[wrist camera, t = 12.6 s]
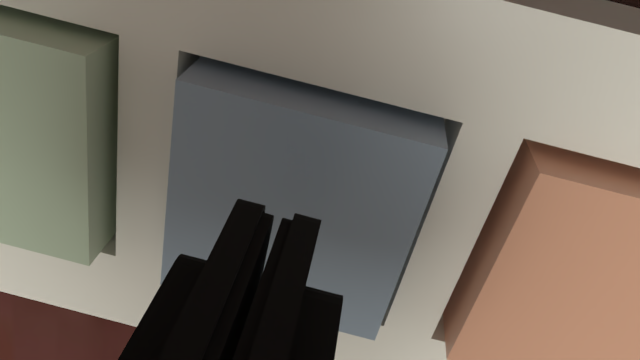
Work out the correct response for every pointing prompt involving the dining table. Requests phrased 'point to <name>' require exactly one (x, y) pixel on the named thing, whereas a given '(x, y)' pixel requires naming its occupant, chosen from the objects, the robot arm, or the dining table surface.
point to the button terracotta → (553, 264)
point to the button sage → (57, 135)
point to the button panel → (369, 82)
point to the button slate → (302, 176)
